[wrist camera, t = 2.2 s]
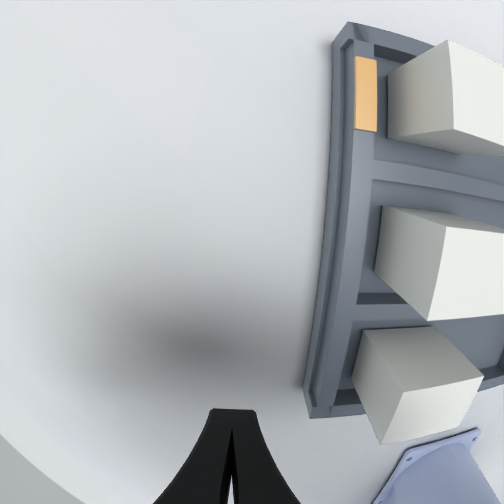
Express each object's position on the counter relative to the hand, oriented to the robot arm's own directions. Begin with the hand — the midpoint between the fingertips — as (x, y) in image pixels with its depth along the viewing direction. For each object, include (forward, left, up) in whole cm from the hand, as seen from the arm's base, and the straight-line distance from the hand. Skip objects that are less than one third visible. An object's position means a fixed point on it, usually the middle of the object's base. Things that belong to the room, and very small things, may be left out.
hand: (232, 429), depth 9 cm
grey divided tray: (+5, -11, -6) cm, 13 cm away
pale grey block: (0, -8, -5) cm, 9 cm away
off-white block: (+5, -8, -4) cm, 10 cm away
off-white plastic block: (+11, -8, -4) cm, 14 cm away
